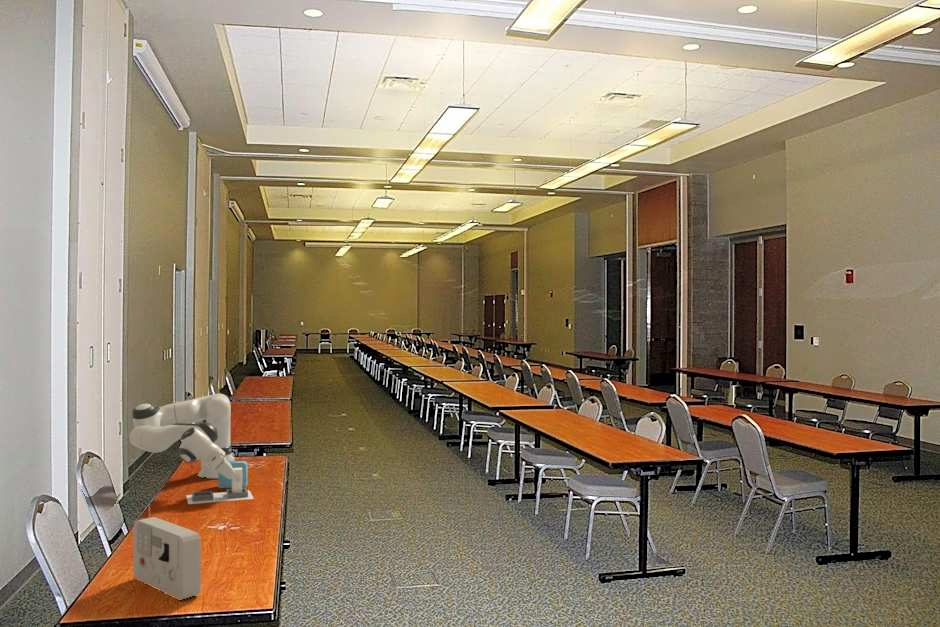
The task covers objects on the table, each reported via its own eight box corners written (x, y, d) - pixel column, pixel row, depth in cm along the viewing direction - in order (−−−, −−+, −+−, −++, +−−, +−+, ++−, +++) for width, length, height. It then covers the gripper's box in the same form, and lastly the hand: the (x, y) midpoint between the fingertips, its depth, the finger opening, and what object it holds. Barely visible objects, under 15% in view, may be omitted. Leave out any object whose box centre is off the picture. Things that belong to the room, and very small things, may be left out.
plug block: (231, 491, 330) (231, 468, 329) (241, 490, 331) (241, 467, 331) (232, 493, 326) (232, 469, 326) (242, 492, 327) (242, 469, 327)
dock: (186, 497, 328) (186, 490, 328) (249, 492, 338) (249, 485, 338) (188, 506, 313) (188, 499, 313) (253, 501, 323) (254, 493, 323)
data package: (247, 487, 348) (247, 460, 348) (246, 489, 344) (246, 462, 344) (219, 487, 346) (220, 461, 346) (218, 490, 342) (218, 463, 342)
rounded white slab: (125, 581, 228) (125, 520, 228) (150, 574, 234) (150, 515, 234) (175, 605, 210) (175, 539, 210) (200, 597, 216) (201, 533, 215)
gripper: (207, 459, 334) (230, 479, 337) (210, 468, 315) (235, 490, 319) (218, 448, 335) (241, 469, 339) (222, 456, 316) (246, 478, 320)
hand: (238, 479), depth 329 cm, fingers closed on plug block, 4 cm apart
